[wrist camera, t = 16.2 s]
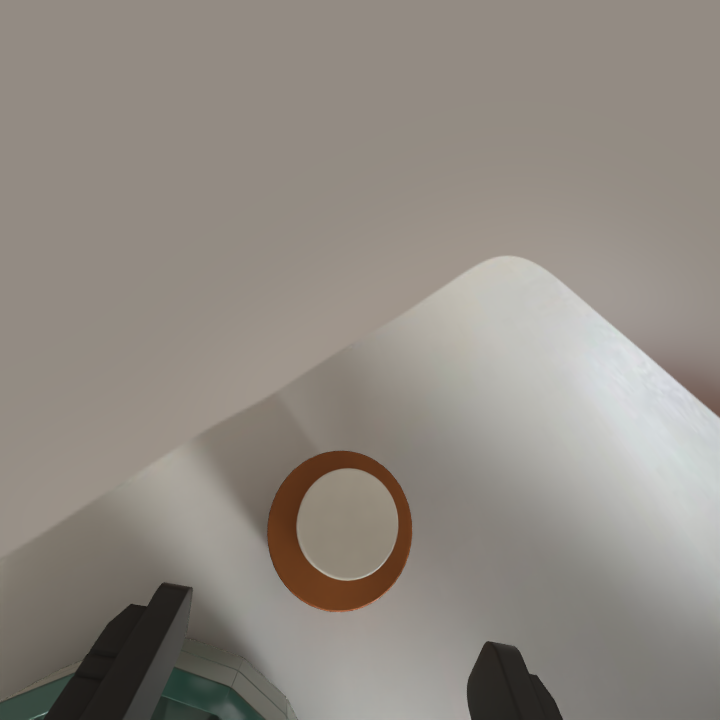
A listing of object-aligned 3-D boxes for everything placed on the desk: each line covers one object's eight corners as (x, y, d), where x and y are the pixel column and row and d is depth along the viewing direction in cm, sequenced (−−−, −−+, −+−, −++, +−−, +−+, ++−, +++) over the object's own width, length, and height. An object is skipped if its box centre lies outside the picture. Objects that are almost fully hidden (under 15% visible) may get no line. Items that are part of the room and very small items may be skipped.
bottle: (364, 486, 21) (420, 441, 12) (365, 584, 18) (436, 617, 10) (279, 485, 20) (273, 436, 11) (270, 587, 18) (253, 626, 9)
